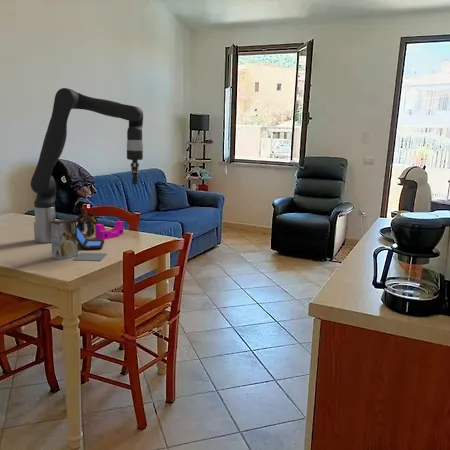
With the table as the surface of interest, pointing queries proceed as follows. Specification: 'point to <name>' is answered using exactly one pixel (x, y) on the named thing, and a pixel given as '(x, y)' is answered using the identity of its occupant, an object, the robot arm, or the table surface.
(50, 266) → the table surface
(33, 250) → the table surface
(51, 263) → the table surface
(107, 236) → the toy block
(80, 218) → the doll family
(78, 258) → the slate mat
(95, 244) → the game console
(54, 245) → the coffee box
